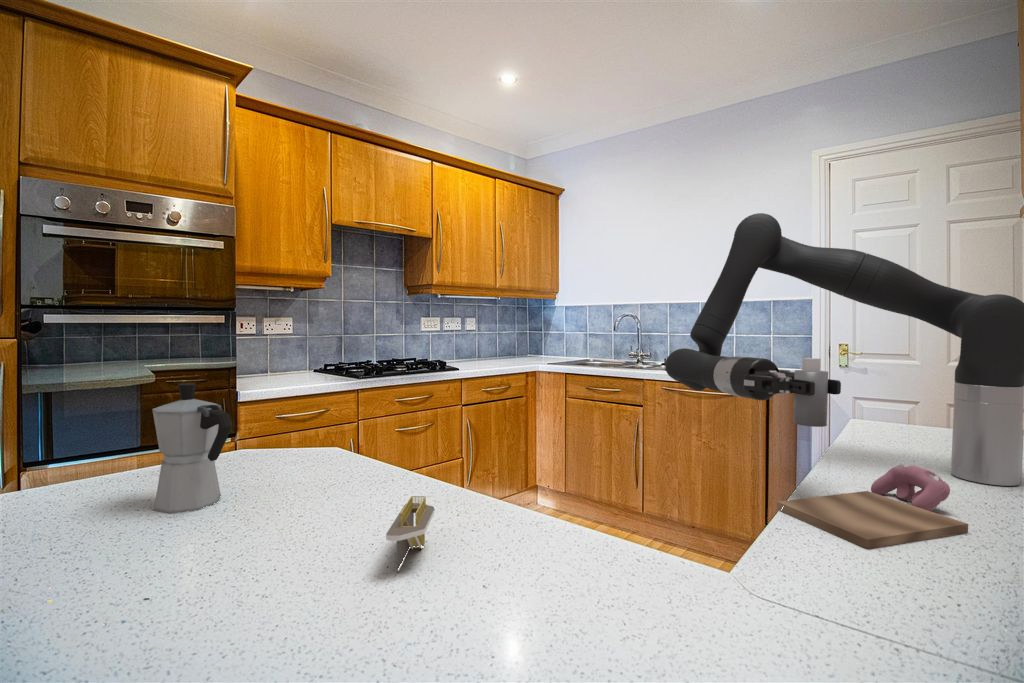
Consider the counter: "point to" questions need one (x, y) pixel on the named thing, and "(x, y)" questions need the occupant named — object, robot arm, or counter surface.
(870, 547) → the walnut board
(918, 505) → the video game controller
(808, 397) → the grey cylinder with tab
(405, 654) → the counter surface
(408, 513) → the platform
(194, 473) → the coffee maker
